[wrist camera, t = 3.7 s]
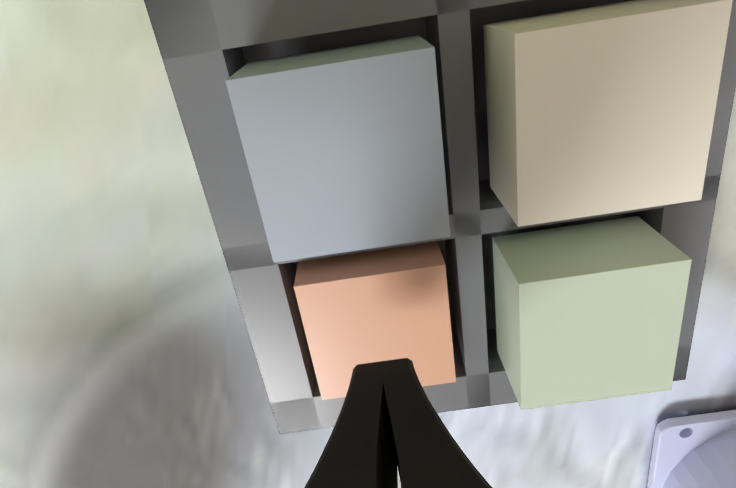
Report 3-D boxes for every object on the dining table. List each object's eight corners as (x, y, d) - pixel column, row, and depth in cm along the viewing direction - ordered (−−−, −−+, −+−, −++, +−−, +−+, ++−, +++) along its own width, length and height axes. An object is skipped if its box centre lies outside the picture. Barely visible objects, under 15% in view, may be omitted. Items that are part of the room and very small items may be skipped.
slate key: (418, 35, 12) (434, 47, 10) (433, 195, 14) (450, 236, 11) (248, 62, 12) (225, 80, 10) (285, 217, 14) (273, 262, 12)
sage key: (637, 215, 14) (692, 259, 12) (626, 332, 16) (671, 389, 14) (492, 237, 14) (518, 284, 12) (496, 350, 16) (521, 410, 14)
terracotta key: (431, 224, 16) (445, 264, 13) (442, 330, 17) (456, 382, 15) (301, 243, 16) (293, 286, 13) (325, 347, 18) (322, 400, 15)
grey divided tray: (695, -96, 13) (770, -113, 10) (644, 331, 18) (685, 379, 16) (177, -9, 13) (141, -8, 11) (288, 381, 19) (279, 433, 17)
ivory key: (659, -5, 12) (733, -2, 9) (642, 164, 13) (701, 199, 11) (483, 24, 12) (514, 34, 10) (490, 187, 14) (517, 226, 11)
